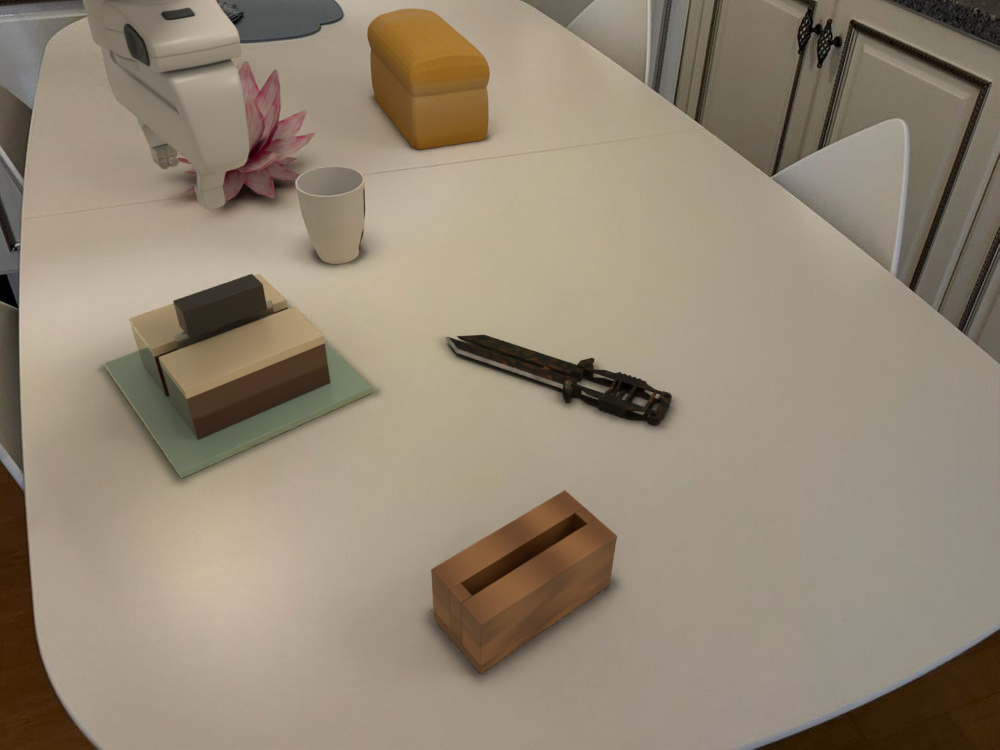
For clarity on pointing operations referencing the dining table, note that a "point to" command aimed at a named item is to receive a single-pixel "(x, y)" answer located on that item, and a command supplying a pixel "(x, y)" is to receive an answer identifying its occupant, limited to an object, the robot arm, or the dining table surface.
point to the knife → (568, 377)
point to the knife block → (522, 579)
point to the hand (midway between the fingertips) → (188, 184)
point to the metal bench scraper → (220, 309)
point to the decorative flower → (264, 139)
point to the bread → (428, 79)
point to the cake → (231, 382)
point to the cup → (333, 211)
